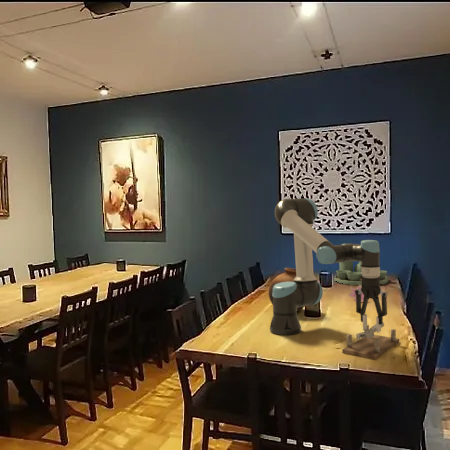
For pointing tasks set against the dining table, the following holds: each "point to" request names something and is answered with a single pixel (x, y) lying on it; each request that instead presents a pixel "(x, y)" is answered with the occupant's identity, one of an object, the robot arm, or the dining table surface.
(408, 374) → the dining table surface
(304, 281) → the robot arm
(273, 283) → the pottery
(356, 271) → the tea set
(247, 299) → the dining table surface
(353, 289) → the lily
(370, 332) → the adjustable wrench
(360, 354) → the rack
